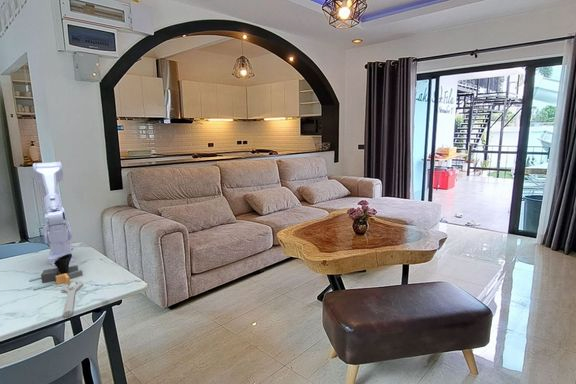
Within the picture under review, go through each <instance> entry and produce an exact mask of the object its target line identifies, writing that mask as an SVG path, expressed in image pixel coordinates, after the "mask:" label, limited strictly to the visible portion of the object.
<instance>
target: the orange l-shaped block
mask: <svg viewBox="0 0 576 384" xmlns="http://www.w3.org/2000/svg"><path fill="white" fill-rule="evenodd" d="M67 274H68V273H65V274H60V275H57V276H55V277H56V281H55V282H56V285H61V284H65V285H66V284H67V285H69V286H70V285H71V279H70V278H69V276H68V275H67Z"/></svg>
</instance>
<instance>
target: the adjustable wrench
mask: <svg viewBox="0 0 576 384" xmlns="http://www.w3.org/2000/svg"><path fill="white" fill-rule="evenodd" d="M83 287H84V283H83V281H81V280H75V284H73V285H72V286H70V285H67V284H66V283H65V284H64V285H63V286H62V289H60V292H61V294H66V298H65V302H64V305H63V306H64V307H63V310H62V318H63V319H68V318H71V317H72V316H73V314H74V307H75V301H76V293H77V292H78V291H79V290H81V288H83Z"/></svg>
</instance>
